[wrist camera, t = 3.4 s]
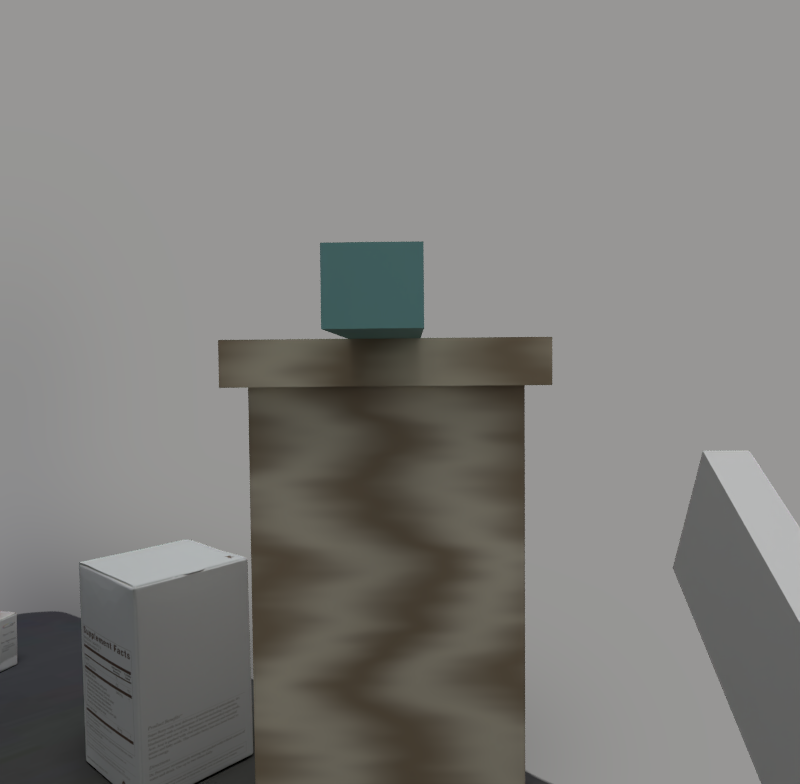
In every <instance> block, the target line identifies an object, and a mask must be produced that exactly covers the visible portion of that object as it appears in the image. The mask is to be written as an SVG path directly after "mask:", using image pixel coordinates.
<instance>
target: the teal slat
mask: <svg viewBox="0 0 800 784" xmlns="http://www.w3.org/2000/svg"><path fill="white" fill-rule="evenodd" d="M320 267H321V329H323V330H326V331H328V332H331V333H334V334H337V335H339V336H343V337H345V338H348V339H390V338H421V335H422V332H423V329H424V280H423V279H424V278H423V277H424V276H423V275H424V274H423V272H424V270H423V242H355V243H354V242H350V243H349V242H346V243H320Z"/></svg>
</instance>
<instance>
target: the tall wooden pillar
mask: <svg viewBox="0 0 800 784" xmlns="http://www.w3.org/2000/svg"><path fill="white" fill-rule="evenodd" d="M218 351H219V387H220V388H227V387H228V388H229V387H231V388H235V387H236V388H237V387H248V396H249V397H248V398H249V454H250V508H251V558H252V559H251V561H252V562H251V563H252V615H253V616H252V619H253V674H254V729H255V784H525V513H524V512H525V508H524V507H525V504H524V503H525V497H524V496H525V484H524V483H525V482H524V481H525V480H524V479H525V477H524V475H525V472H524V471H525V469H524V468H525V463H524V462H525V459H524V457H525V456H524V455H525V454H524V452H525V449H524V385H552V337H498V338H497V337H494V338H390V339H292V340H291V339H287V340H219V341H218Z"/></svg>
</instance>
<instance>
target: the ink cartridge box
mask: <svg viewBox="0 0 800 784" xmlns="http://www.w3.org/2000/svg"><path fill="white" fill-rule="evenodd" d="M16 664H17V614H16V613H13V612H5V611H0V672H2V671H4V670H6V669H8V668H10V667H12V666H14V665H16Z"/></svg>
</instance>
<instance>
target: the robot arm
mask: <svg viewBox="0 0 800 784" xmlns="http://www.w3.org/2000/svg"><path fill="white" fill-rule="evenodd" d="M673 569H674V571H675V574H676V576H677V579H678V581H679V584H680V586H681V589H682V591H683V594H684V596H685V599H686V601H687V603H688V606H689V608H690V611H691V613H692V616H693V618H694V620H695V623H696V625H697V628H698V630H699V633H700V635H701V637H702V640H703V642H704V645H705V647H706V650H707V652H708V655H709V657H710V659H711V662H712V664H713V667H714V669H715V672H716V674H717V676H718V679H719V681H720V684H721V686H722V689H723V691H724V693H725V696H726V698H727V701H728V703H729V705H730V708H731V711H732V713H733V715H734V718H735V720H736V723H737V725H738V727H739V730H740V732H741V735H742V737H743V740H744V742H745V745H746V747H747V750H748V752H749V754H750V757H751V759H752V762H753V764H754V767H755V769H756V772H757V774H758V776H759V779H760V781H761V783H762V784H800V527H799V526H798V524H797V523H796V521H795V520H794V518H793V517H792V515H791V514H790V512H789V510H788V509H787V507H786V506H785V504H784V503H783V501H782V500H781V498H780V497H779V495H778V494H777V493H776V491H775V489H774V488H773V486H772V485H771V483H770V481H769V480H768V478H767V477H766V475H765V474H764V472H763V471H762V469H761V468H760V466H759V465H758V463H757V462H756V460H755V459H754V457H753V456H752V454H751V452H750V451H703V453H702V457H701V461H700V464H699V468H698V472H697V476H696V480H695V484H694V488H693V492H692V495H691V500H690V504H689V507H688V511H687V515H686V519H685V523H684V527H683V530H682V534H681V538H680V543H679V546H678V550H677V554H676V558H675V562H674V566H673Z"/></svg>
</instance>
